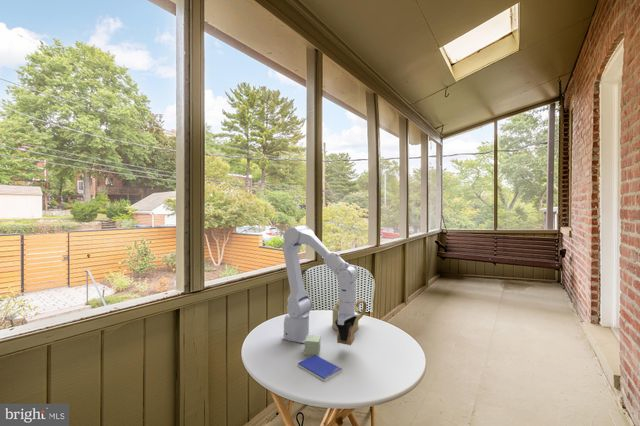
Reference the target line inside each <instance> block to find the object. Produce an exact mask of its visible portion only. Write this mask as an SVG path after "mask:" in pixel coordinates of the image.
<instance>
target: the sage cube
mask: <svg viewBox="0 0 640 426" xmlns="http://www.w3.org/2000/svg"><path fill="white" fill-rule="evenodd" d="M320 351H321V335H319V334H318V335H317V334H316V335H315V334H312V335H307V336H306V339H305V343H304V355H306V356H313V355H317V356H318V355H320Z"/></svg>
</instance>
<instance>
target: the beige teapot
mask: <svg viewBox="0 0 640 426" xmlns="http://www.w3.org/2000/svg"><path fill="white" fill-rule="evenodd" d="M361 303H363V306H362V310H361V312H359V309H360V307H359V306H360V304H361ZM338 311H339V299H338V300H336V302H335V304H334V305H333V306H332V328H333V329H334V330H335V331H337V332H338V327H337V326H336V324H335V321H336V320H337V319H338V318H339V317H338ZM366 311H367V302H366V301H365V300H364V299H358V300H357V302H355V312H356V313H358V316H357V317H356V319H355V322H354V325H353V326H355V332H356V331H357V330H358V329H359V320H360V319H361V318H362V317H363V316H364V315H365V313H366Z"/></svg>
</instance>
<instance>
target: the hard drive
mask: <svg viewBox="0 0 640 426" xmlns="http://www.w3.org/2000/svg"><path fill="white" fill-rule="evenodd" d="M297 366H298V367H300V368H301V369H303V370H304V371H306V372H308V373H310V374H311V375H314V376H315V377H317V378H318V379H320V380H322V381H324V382H325V381H328V380H329V379H331V378H332V377H335V376H337V375H338V374H340V373H342V372H343V368H342V367H339V366H337V365H336V364H334V363H332V362H330V361H328V360H326V359H324V358H322V357H320V356H318V355H310V356H309V357H307V358H305V359H303V360H301V361H299V362H297Z"/></svg>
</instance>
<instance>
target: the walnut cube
mask: <svg viewBox="0 0 640 426" xmlns="http://www.w3.org/2000/svg"><path fill="white" fill-rule="evenodd" d="M355 332H356V331H355V326H350V328H349V332H348V338H347V341H342V340H341V339H340V334H339V330H338V331H337V334H336V335H337V336H336V337H337V338H336V340H337V341H336V343H337V344H342V345H346V346H352V344H353V343H354V342H355V338H356V337H355V335H356V333H355Z"/></svg>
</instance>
